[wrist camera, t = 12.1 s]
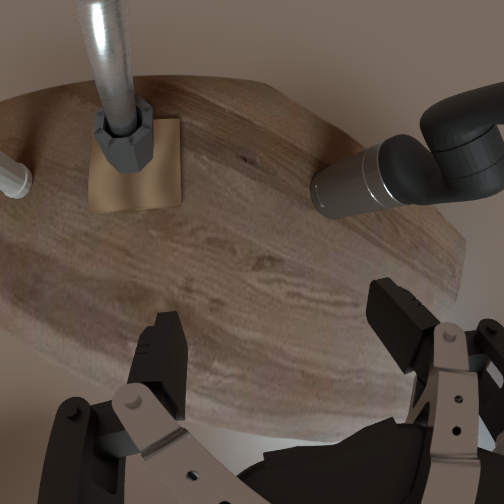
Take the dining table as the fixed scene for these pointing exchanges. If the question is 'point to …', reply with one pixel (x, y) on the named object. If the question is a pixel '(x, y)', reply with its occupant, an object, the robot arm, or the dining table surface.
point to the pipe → (14, 177)
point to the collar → (127, 140)
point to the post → (124, 118)
